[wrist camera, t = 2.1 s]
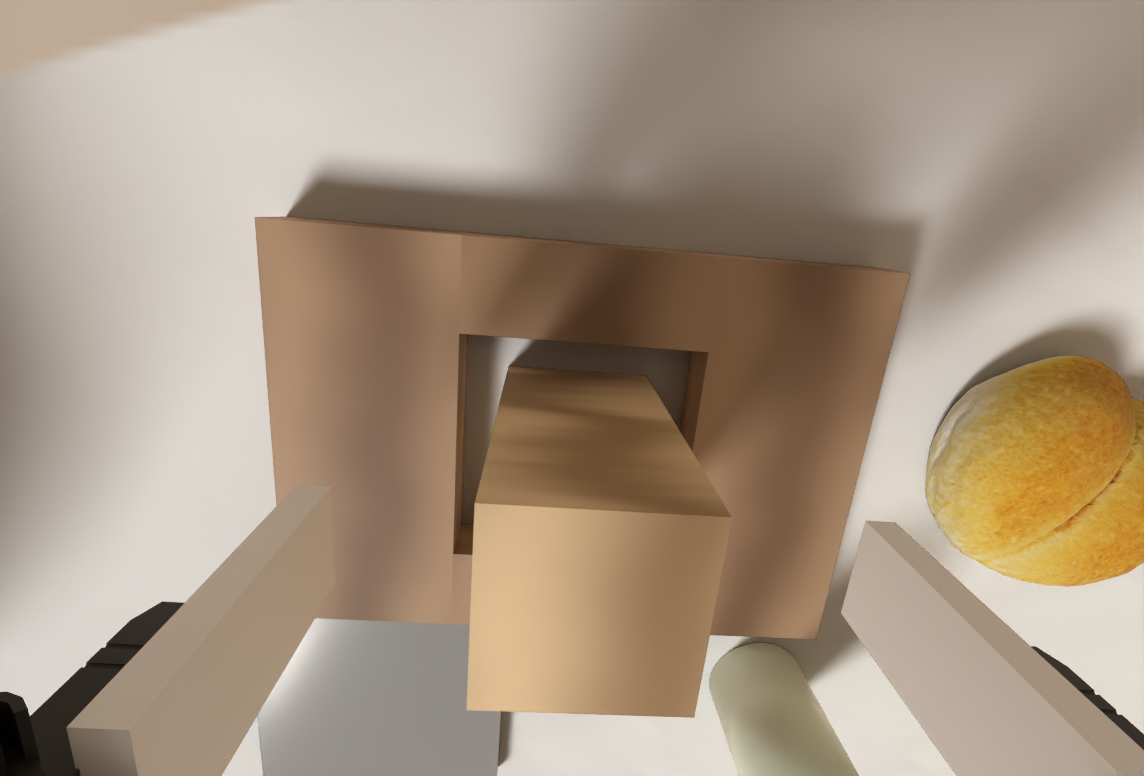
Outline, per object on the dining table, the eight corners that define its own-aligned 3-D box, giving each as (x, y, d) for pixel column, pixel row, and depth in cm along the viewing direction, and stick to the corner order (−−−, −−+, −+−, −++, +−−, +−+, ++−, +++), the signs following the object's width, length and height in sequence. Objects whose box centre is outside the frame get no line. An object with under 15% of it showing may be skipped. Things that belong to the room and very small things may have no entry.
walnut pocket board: (307, 582, 23) (285, 617, 21) (285, 216, 18) (254, 217, 17) (794, 605, 24) (816, 639, 22) (874, 267, 20) (910, 273, 18)
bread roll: (1022, 312, 21) (1130, 334, 17) (1167, 441, 23) (1294, 487, 19) (866, 481, 22) (932, 536, 19) (1012, 587, 24) (1099, 657, 21)
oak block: (501, 491, 22) (466, 710, 12) (508, 366, 20) (474, 502, 11) (630, 498, 22) (693, 717, 13) (646, 375, 21) (731, 517, 11)
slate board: (272, 762, 25) (263, 779, 24) (254, 569, 22) (243, 582, 21) (497, 768, 26) (496, 785, 25) (509, 581, 23) (508, 594, 22)
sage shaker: (702, 713, 25) (779, 961, 17) (716, 640, 24) (806, 868, 16) (789, 716, 26) (906, 962, 17) (807, 644, 24) (942, 870, 16)
